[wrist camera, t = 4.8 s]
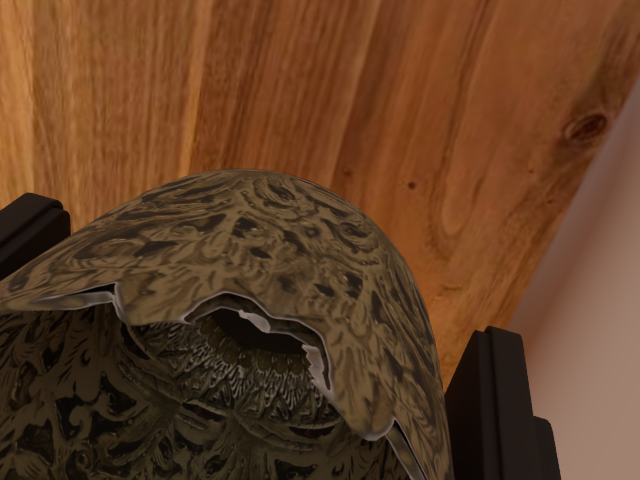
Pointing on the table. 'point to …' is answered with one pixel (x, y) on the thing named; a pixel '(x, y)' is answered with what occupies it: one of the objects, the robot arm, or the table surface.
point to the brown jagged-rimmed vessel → (221, 343)
